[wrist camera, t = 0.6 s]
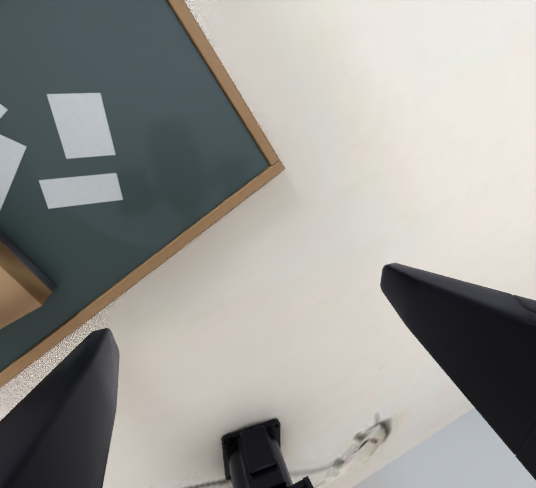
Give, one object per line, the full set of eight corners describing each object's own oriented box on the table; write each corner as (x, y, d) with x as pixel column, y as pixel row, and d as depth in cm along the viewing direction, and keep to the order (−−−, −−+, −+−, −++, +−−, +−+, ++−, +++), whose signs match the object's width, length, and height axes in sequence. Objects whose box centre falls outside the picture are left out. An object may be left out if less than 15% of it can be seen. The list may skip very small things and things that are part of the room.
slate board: (-13, 393, 21) (-21, 404, 20) (-389, 203, 13) (-429, 208, 12) (280, 167, 23) (285, 168, 22) (105, -120, 15) (102, -137, 14)
